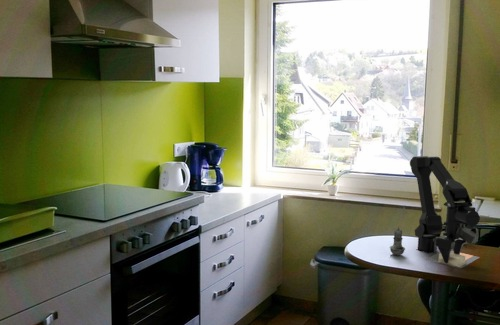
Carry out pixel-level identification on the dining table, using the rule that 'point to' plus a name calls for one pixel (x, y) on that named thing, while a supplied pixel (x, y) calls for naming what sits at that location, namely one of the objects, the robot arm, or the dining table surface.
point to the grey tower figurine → (397, 243)
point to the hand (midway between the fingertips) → (451, 260)
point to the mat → (467, 260)
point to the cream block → (453, 259)
